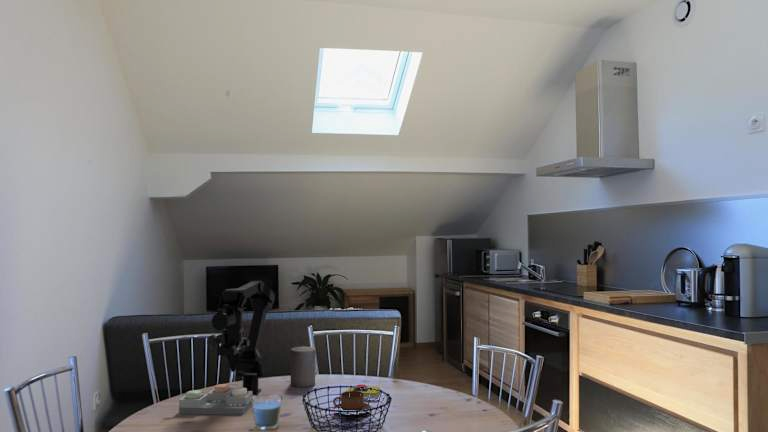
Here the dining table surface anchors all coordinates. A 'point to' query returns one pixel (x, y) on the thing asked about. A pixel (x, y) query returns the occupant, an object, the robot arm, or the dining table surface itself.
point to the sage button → (194, 394)
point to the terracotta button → (221, 388)
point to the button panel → (216, 403)
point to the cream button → (239, 391)
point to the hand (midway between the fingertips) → (233, 371)
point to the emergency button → (367, 391)
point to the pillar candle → (302, 366)
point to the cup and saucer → (351, 401)
